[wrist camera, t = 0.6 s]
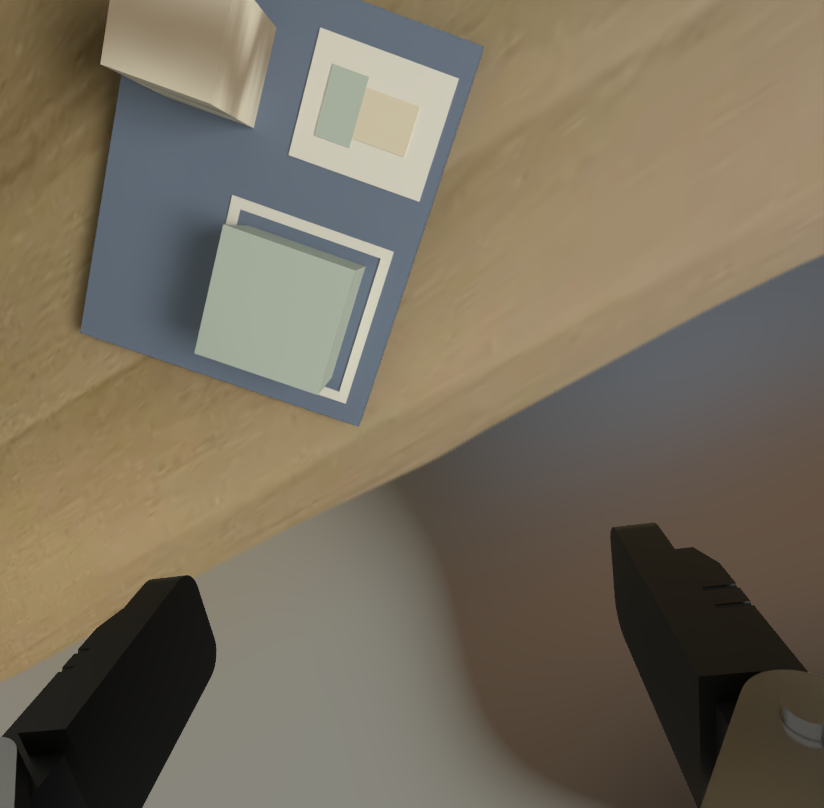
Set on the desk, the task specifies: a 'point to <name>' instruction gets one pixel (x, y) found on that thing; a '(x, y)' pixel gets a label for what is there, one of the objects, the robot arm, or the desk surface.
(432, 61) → the build board
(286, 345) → the base block
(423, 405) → the desk surface
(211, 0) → the maple block
